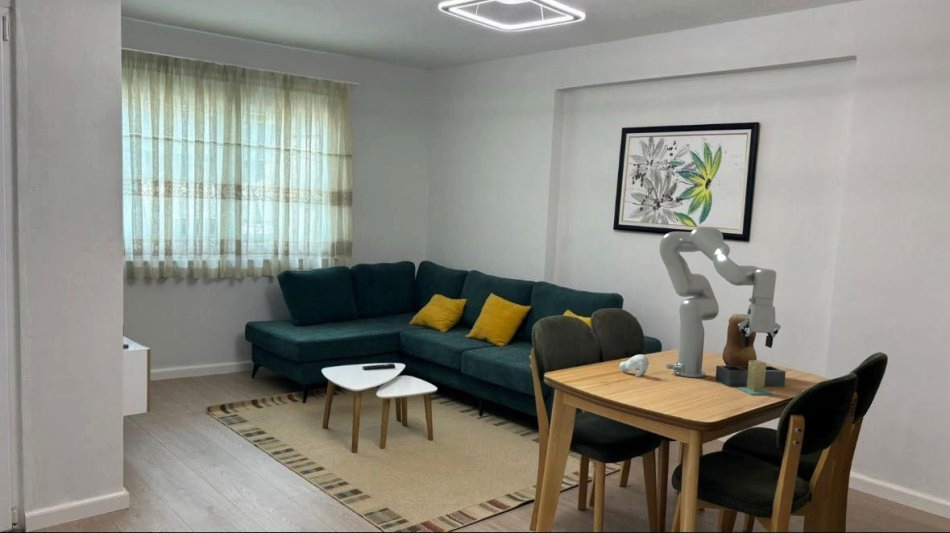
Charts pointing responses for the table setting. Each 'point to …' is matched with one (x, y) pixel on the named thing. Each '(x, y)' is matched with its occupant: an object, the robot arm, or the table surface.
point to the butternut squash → (738, 344)
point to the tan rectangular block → (756, 375)
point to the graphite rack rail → (739, 374)
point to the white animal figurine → (635, 365)
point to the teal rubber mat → (754, 392)
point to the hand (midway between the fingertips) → (756, 346)
